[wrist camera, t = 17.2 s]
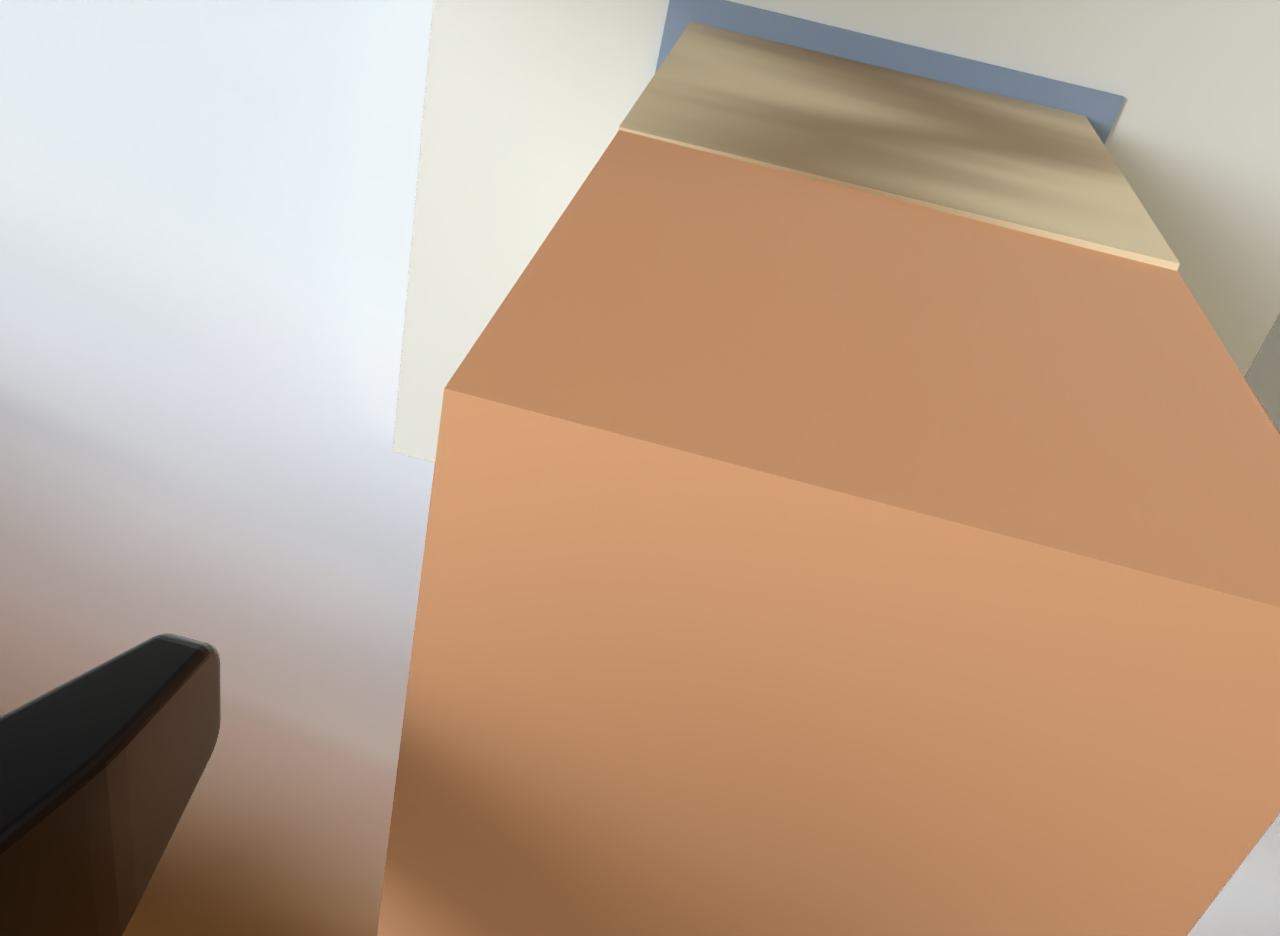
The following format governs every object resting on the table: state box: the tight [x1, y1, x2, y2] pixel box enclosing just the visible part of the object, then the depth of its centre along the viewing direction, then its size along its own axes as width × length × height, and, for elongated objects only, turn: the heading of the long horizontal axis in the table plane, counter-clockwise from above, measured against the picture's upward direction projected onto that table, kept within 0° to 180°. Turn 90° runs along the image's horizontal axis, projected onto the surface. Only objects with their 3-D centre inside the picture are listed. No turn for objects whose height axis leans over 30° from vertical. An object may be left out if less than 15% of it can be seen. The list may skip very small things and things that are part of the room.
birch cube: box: [618, 21, 1180, 271], centre depth 16 cm, size 6×6×6 cm
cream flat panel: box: [393, 0, 1280, 463], centre depth 19 cm, size 12×14×1 cm
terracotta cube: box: [377, 130, 1280, 936], centre depth 11 cm, size 6×6×6 cm
